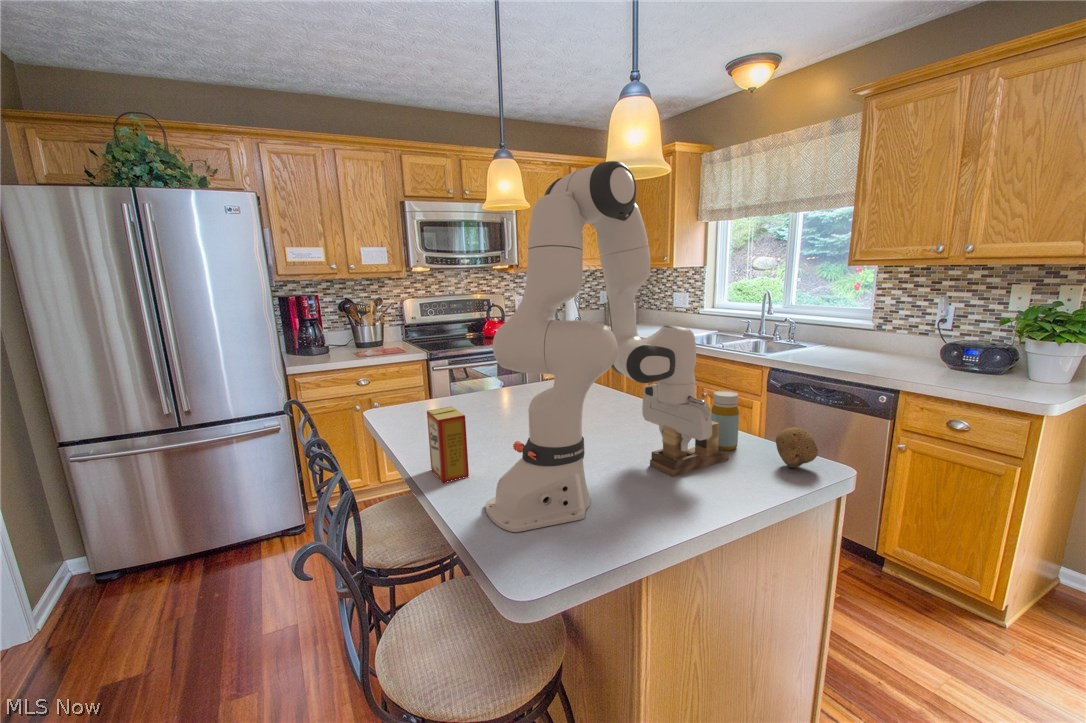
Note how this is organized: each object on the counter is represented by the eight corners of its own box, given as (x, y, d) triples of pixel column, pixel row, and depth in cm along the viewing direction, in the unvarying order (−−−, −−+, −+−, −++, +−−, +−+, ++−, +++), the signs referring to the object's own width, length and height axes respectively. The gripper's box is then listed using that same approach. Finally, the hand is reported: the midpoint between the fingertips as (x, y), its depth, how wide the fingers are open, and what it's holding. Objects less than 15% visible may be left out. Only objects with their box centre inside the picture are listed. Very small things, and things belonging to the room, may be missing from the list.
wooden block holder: (672, 476, 115) (673, 438, 113) (649, 465, 122) (650, 429, 120) (728, 459, 124) (729, 424, 122) (703, 450, 131) (704, 416, 129)
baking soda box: (468, 477, 118) (465, 413, 115) (442, 483, 115) (438, 418, 112) (455, 464, 126) (451, 405, 124) (431, 469, 123) (426, 409, 120)
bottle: (739, 451, 129) (742, 397, 126) (711, 450, 131) (713, 396, 128) (734, 442, 136) (737, 390, 133) (708, 441, 137) (710, 390, 135)
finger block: (674, 461, 118) (675, 429, 116) (662, 456, 121) (663, 425, 120) (687, 457, 120) (688, 426, 118) (675, 452, 123) (676, 422, 122)
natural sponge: (811, 461, 121) (814, 423, 119) (820, 476, 113) (823, 435, 111) (771, 458, 124) (774, 421, 122) (777, 472, 115) (780, 432, 114)
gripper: (719, 399, 110) (717, 457, 112) (657, 382, 127) (656, 433, 130) (699, 404, 107) (697, 463, 109) (638, 386, 124) (637, 437, 127)
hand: (674, 446), depth 120 cm, fingers closed on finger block, 4 cm apart
